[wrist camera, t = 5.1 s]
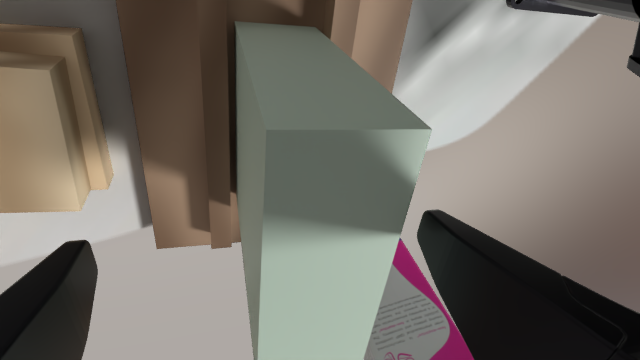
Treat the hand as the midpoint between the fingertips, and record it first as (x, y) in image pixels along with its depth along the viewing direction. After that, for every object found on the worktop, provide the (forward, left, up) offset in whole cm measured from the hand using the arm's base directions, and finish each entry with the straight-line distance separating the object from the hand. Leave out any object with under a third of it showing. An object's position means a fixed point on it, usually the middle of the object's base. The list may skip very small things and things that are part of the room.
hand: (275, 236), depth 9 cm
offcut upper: (+10, +2, -12) cm, 15 cm away
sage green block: (-2, +2, -12) cm, 12 cm away
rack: (-2, +2, -13) cm, 13 cm away
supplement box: (-11, +16, -13) cm, 23 cm away
